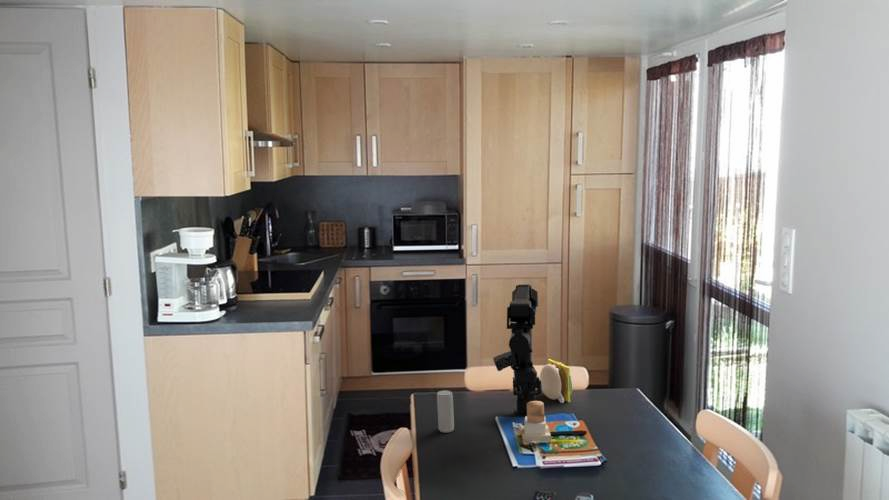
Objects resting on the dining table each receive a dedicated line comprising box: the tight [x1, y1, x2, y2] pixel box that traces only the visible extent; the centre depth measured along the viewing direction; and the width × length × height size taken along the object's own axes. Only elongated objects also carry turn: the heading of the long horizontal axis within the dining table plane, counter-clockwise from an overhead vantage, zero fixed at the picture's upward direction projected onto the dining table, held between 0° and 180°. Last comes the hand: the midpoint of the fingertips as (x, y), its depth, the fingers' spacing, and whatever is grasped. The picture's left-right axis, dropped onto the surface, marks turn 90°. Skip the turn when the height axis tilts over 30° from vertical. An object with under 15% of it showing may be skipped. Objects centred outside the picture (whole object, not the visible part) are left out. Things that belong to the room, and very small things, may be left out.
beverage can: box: [436, 389, 455, 434], centre depth 218 cm, size 5×5×12 cm
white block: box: [523, 415, 547, 434], centre depth 208 cm, size 6×6×3 cm
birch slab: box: [520, 424, 552, 444], centre depth 208 cm, size 8×8×3 cm
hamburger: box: [539, 358, 573, 404], centre depth 242 cm, size 12×8×12 cm
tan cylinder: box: [527, 400, 545, 423], centre depth 208 cm, size 5×5×5 cm
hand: (523, 394), depth 213 cm, fingers open, 9 cm apart
